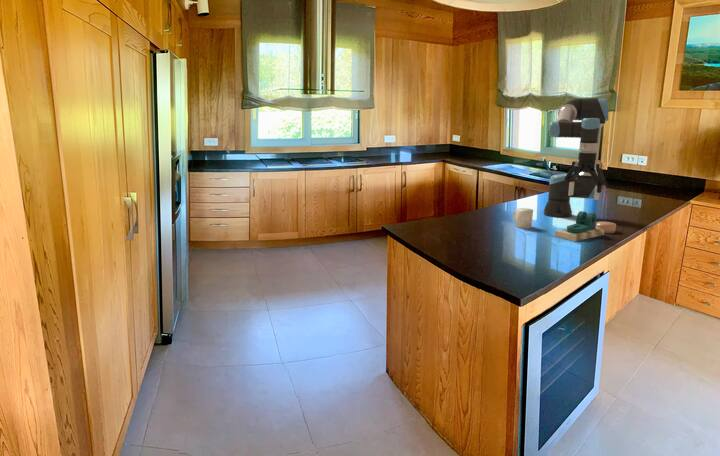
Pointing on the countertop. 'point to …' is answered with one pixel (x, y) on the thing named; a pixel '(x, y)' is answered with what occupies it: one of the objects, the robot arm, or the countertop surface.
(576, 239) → the tray
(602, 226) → the peach flattened dome
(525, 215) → the mug
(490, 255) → the countertop surface
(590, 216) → the bracket
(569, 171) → the robot arm
